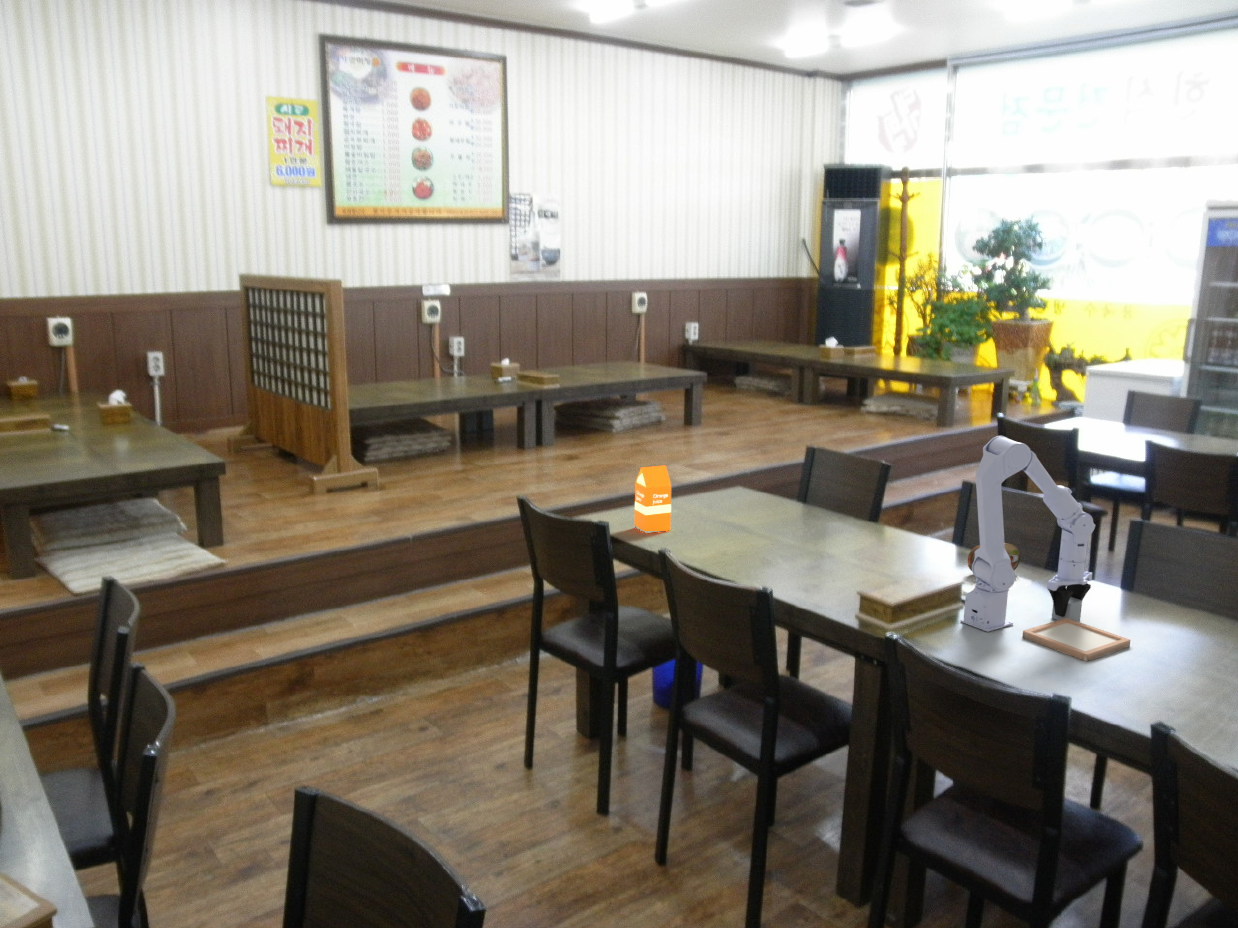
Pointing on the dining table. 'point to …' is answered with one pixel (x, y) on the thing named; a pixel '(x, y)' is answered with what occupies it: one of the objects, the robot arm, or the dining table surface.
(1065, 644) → the picture frame
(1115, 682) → the dining table surface
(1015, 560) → the tin
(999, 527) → the robot arm
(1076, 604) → the block
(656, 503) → the orange juice
